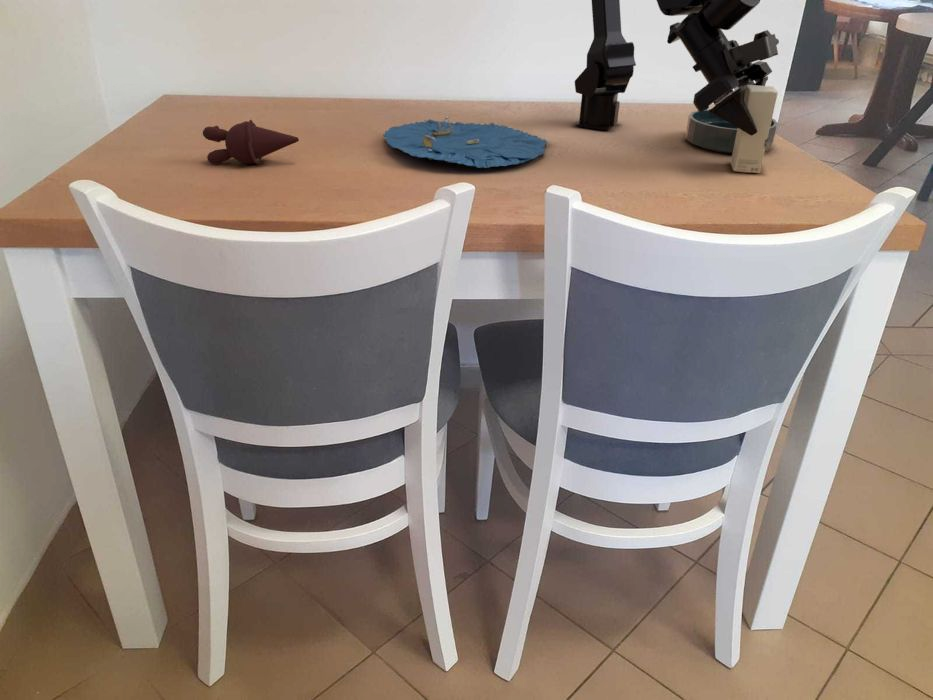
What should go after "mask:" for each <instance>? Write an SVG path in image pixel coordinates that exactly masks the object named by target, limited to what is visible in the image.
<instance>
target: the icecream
mask: <svg viewBox="0 0 933 700" xmlns="http://www.w3.org/2000/svg"><path fill="white" fill-rule="evenodd" d="M202 136H203V137H204V138H205V140H208V141H211V142H215V143H220V142H224V143H225V144H224V145H225V148H220V149H219V148H218V149H215V150H212V151H210V152H208V154H207V156H206V159H207V161H208V163H210V164H222V163H225V162H227V161H229V160H230V159H232V158H233V159H234V160H235V161H237V162H239V163H242V164H250V165H254V164H256V165H260V164H261V161H262V158H264V157H266V156H268V155H271V154H273V153H275V152H277V151H279V150H282V149H284V148H286V147H288V146H291V145H293V144H295V143H297V142H300V141H299V137H297V136H295V135H291V134H287V133H283V132H279V131H275V130H272V129H268V128H264V127H261V126H257V125H256V123H254V121H253V120H252V119H249V120H248V121H246V120H245V121H243V122H239V123H235V124H234V125H233V126H231V127H230V128H229V129H228V130H226V129H224V128H220V127H219V125H214V126H206V127H204V128H203V130H202Z"/></svg>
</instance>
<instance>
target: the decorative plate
mask: <svg viewBox="0 0 933 700" xmlns="http://www.w3.org/2000/svg"><path fill="white" fill-rule="evenodd" d="M449 119H450V117H449V116H446V117H444V119H443V121H439V120H434V119H428V120H425V119H424V121H416V122H410V123H404V124H402V125H397V126H392V127H390V128H389V129H388V130H385V131H384V133H383V134H382V138H383V139H384V138H385V141H386V142H387V144H388V145H389V146H390V147H391V148H393V149H399V150H400V151H402V152H403V153H406V154H409V156H411V157H417V158H421V159H423V158H427V159H428V161H433V160H436V161H445V162H446V163H455V164H458V165H465V166H467V167H475V168H478V169H483V168H485V169H487V168H488V169H489V168H491V167H501V166H502V167H507V166H508V167H509V166H511V165H515V166H517V165H519V164H524V163H525V162H529V161H531V160H534V159H536V158H538V157H540V155H543V154H544V153H545V152H546V147H545V146H546V145H547V143H548V141H547V140H546V139H543V138H542V137H538V136H537V135H532V134H529V132H527V131H526V132H524V131H523V130H520V129H514V128H513V127H509V126H507V125H499V124H495V123H494V122H490V123H489V122H488V123H484V124H481V123H475V122H468V123H463V122H458V121H457V122H455V123H453V122H450V120H449Z"/></svg>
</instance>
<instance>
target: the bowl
mask: <svg viewBox="0 0 933 700" xmlns="http://www.w3.org/2000/svg"><path fill="white" fill-rule="evenodd" d="M710 109H711V108H708V109H707V110H705V111H702V112H700V113H699V111H698V110H695V111H692V112H690V113H689V114H688V118H687V124H686V129H685V134H684V137H685V139H686V141H688V142H690V144H692V145H695V146H697V147H699V148H702V149H705V150H708V151H712V152H717V153H723V154H724V153H725V154H733V149H734V144H735V139H736V134H737V127H736V126H734V125H732V124H731V123H729V122H727V121H725V120H723V119H722V118H720V117H718V116H716V115H714V114H712V113H711V114H710V113H709V112H708V111H709V110H710ZM771 123H772V124H771V125H770V130H769V135H768V139H767V144H766V148H765V152H766V151H768V150H771V149H772V147H773V145H774V142H775V138H776V134H777V129H778V127H779V126H778V125H779V123H778V121H777V120H776V119H775V118H772V121H771Z"/></svg>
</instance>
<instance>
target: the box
mask: <svg viewBox="0 0 933 700" xmlns="http://www.w3.org/2000/svg"><path fill="white" fill-rule="evenodd" d="M778 94H779V92H778V91H777V89H776V88H775V87H774V86H770V85H765V86H757V85H747V86H746V90H745V96H744V101H745V104H746V106H747V108H748V110H749V112H750V114H751V117H752V119H753V121H754V123H755V126H756V128H757V133H756V134H754V135H752V136H751V135H749V134H747V133H746V132H744V131H742V130H741V129H739V128H737V134H736V139H735V144H734V149H733V153H731V154H732V155H731V159H730V166H731V168H732V171H733V172H736V173H737V172H739V173H751V174H759V173H761V171H762V168H763V167H762V166H763V161H764V156H765V153H766V151H765V148H766V144H767V139H768V135H769V130H770V125H771V121H772V119H773V116H774V112H775V107H776V103H777V97H778Z"/></svg>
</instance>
